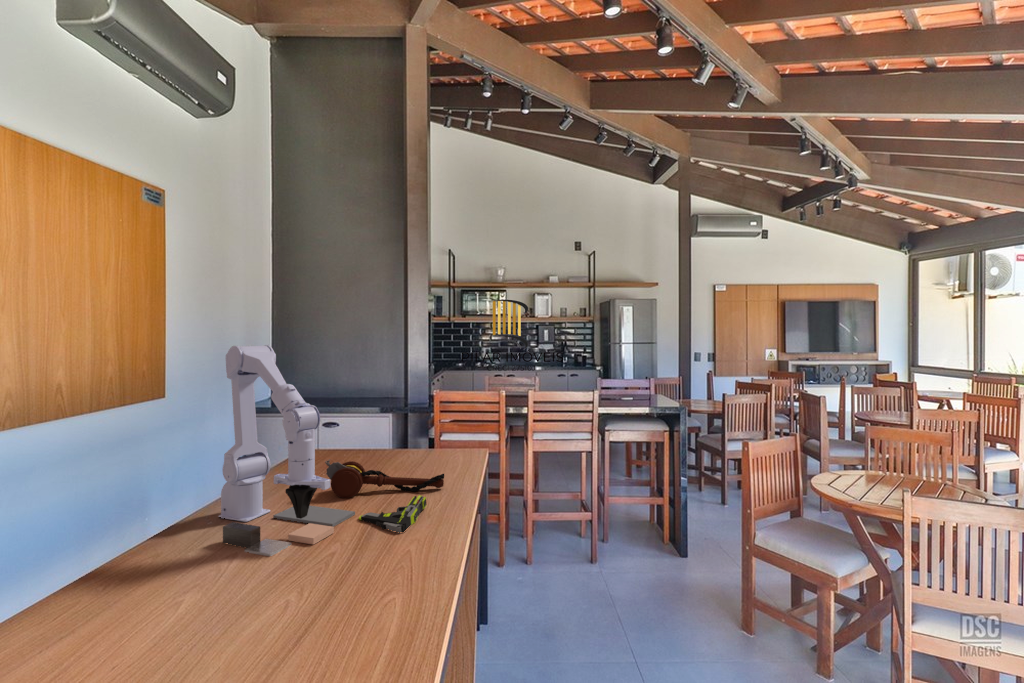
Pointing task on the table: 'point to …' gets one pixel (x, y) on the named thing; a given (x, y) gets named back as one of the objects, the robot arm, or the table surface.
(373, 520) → the toy gun
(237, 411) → the robot arm
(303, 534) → the block
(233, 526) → the turner
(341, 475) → the gavel
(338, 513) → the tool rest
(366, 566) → the table surface
